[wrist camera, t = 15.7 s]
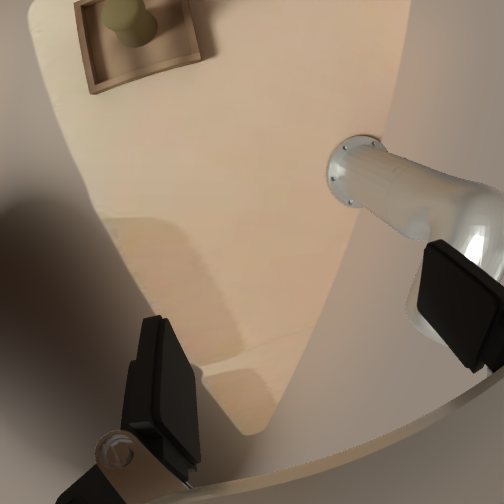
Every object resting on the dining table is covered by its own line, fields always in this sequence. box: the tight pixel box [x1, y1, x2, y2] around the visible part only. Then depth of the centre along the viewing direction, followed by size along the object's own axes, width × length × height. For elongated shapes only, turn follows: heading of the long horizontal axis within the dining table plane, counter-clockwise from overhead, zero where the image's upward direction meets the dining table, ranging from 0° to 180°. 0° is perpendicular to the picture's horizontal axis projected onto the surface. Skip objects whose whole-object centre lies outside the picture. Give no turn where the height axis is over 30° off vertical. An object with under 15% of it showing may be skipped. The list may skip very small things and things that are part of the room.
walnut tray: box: [74, 0, 201, 95], centre depth 31 cm, size 16×16×3 cm
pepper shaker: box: [101, 0, 158, 48], centre depth 27 cm, size 6×6×11 cm
